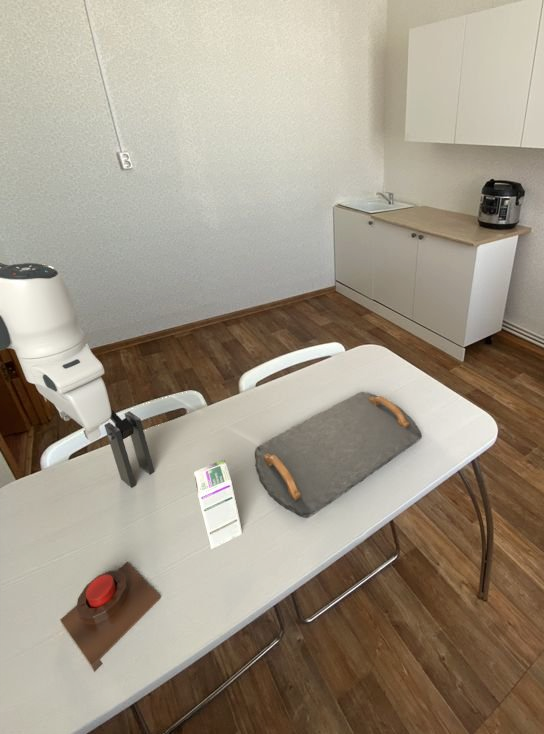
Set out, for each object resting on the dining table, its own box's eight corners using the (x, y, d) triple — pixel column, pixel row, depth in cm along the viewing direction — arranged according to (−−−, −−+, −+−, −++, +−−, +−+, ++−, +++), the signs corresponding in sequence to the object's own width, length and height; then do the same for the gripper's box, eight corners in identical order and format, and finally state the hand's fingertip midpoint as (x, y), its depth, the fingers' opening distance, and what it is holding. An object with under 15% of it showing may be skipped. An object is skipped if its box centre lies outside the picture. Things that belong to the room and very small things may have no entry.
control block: (62, 625, 59) (55, 611, 57) (128, 567, 67) (123, 553, 65) (94, 672, 53) (87, 657, 52) (162, 603, 61) (157, 589, 60)
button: (84, 598, 59) (81, 590, 59) (108, 577, 62) (106, 569, 62) (95, 612, 58) (92, 605, 57) (120, 590, 60) (117, 582, 60)
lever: (74, 396, 83) (73, 389, 82) (99, 384, 87) (98, 377, 86) (115, 444, 77) (115, 437, 76) (140, 429, 81) (140, 422, 80)
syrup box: (244, 538, 71) (233, 479, 66) (210, 555, 68) (197, 495, 63) (236, 514, 76) (226, 457, 71) (205, 528, 73) (192, 470, 68)
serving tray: (293, 539, 71) (291, 515, 69) (242, 462, 88) (239, 441, 85) (431, 439, 94) (433, 418, 91) (370, 394, 110) (370, 375, 108)
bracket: (108, 482, 83) (89, 424, 78) (144, 458, 89) (129, 402, 84) (132, 504, 78) (114, 443, 73) (169, 476, 84) (154, 419, 79)
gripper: (9, 351, 66) (35, 416, 70) (62, 389, 55) (88, 463, 60) (52, 336, 70) (74, 398, 75) (108, 368, 60) (129, 437, 65)
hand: (81, 427), depth 67 cm, fingers open, 8 cm apart
